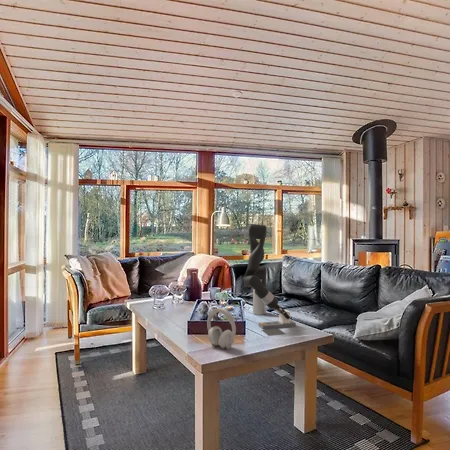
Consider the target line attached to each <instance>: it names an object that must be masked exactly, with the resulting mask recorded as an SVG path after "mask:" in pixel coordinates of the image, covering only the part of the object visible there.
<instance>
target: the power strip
mask: <svg viewBox="0 0 450 450" xmlns="http://www.w3.org/2000/svg"><path fill="white" fill-rule="evenodd" d="M257 325H258V327H259V328H260V329H261V330H269V329H281V328H282V329H283V328H292V327H297V323H296V322H295V321H293V320H291V319H290V323H285V324H282V323H281V322H279V320H276V321H264V322H263V321H262V322H258V323H257Z"/></svg>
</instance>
